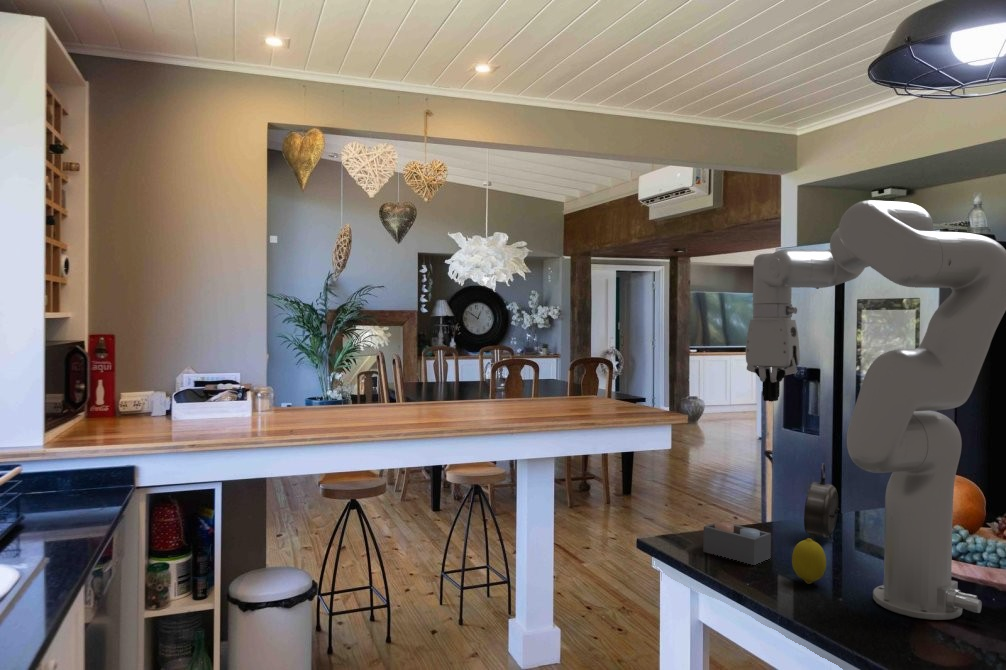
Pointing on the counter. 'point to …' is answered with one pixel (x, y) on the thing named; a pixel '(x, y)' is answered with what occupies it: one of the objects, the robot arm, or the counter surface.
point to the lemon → (809, 560)
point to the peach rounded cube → (725, 526)
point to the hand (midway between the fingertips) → (770, 400)
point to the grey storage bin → (737, 545)
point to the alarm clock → (821, 509)
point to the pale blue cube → (750, 532)
